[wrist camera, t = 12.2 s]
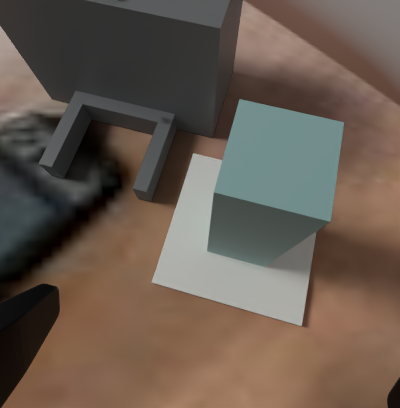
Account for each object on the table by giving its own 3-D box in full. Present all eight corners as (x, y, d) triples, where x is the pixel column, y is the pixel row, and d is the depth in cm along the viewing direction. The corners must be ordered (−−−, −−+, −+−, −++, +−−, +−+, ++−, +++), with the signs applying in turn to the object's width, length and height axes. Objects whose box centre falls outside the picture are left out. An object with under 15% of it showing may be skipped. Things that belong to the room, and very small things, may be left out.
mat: (299, 325, 20) (301, 326, 19) (152, 283, 21) (151, 282, 20) (321, 188, 23) (323, 185, 22) (193, 156, 24) (193, 153, 23)
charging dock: (189, 212, 22) (181, 134, 12) (16, 166, 23) (-116, 62, 14) (233, 70, 27) (252, -71, 17) (84, 37, 28) (21, -111, 18)
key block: (264, 266, 20) (330, 222, 10) (206, 251, 21) (213, 192, 10) (275, 212, 22) (344, 122, 11) (221, 198, 22) (239, 99, 12)
